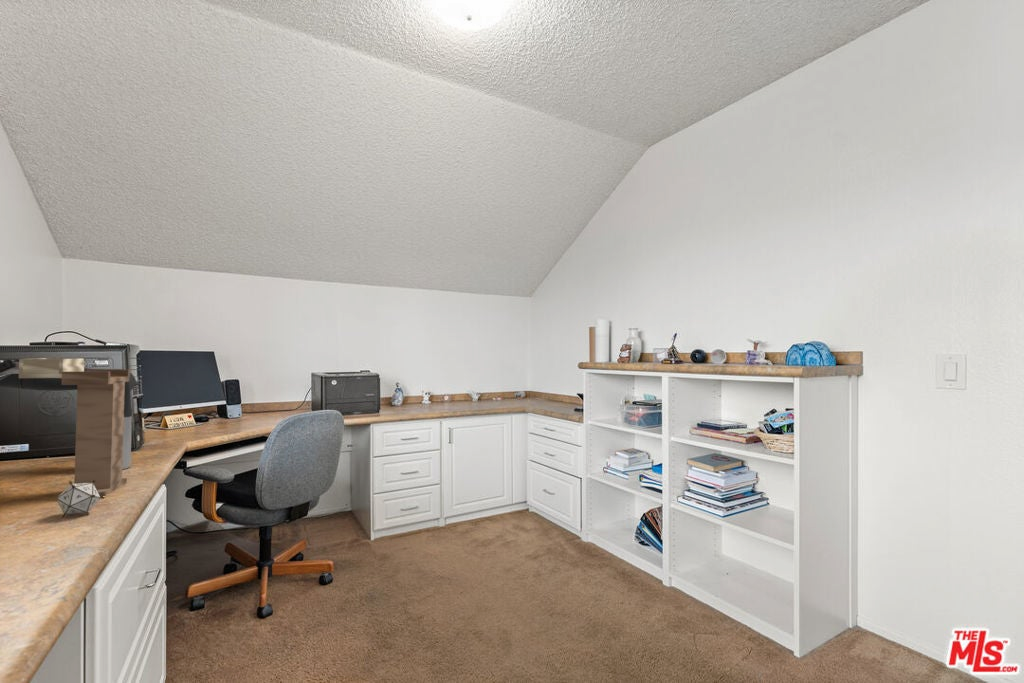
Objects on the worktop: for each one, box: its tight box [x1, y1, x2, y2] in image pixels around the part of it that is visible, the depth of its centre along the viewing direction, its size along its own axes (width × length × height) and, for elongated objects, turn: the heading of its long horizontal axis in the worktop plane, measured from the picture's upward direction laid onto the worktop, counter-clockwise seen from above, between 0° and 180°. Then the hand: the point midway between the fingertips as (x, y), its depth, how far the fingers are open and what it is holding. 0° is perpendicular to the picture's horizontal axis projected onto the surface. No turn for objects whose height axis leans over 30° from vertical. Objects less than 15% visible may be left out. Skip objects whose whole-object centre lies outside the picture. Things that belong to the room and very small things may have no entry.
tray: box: [0, 357, 85, 378], centre depth 131 cm, size 12×18×5 cm
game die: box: [51, 479, 106, 518], centre depth 117 cm, size 9×8×10 cm
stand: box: [57, 369, 131, 497], centre depth 136 cm, size 15×10×34 cm, turn 21°
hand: (17, 362), depth 130 cm, fingers closed on tray, 3 cm apart
